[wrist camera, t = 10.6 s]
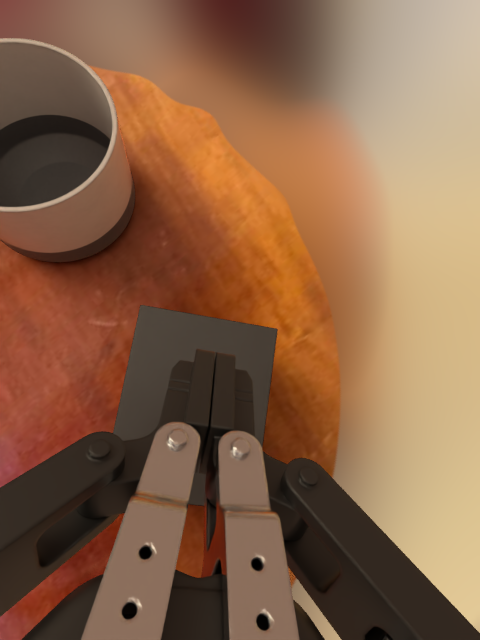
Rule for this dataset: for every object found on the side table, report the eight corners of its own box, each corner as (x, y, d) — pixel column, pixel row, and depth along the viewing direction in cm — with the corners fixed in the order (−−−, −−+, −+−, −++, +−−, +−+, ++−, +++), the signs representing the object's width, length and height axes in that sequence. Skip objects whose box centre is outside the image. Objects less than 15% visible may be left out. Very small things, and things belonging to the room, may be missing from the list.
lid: (141, 306, 26) (140, 304, 25) (275, 330, 27) (277, 328, 26) (102, 491, 23) (100, 493, 22) (252, 509, 24) (254, 512, 23)
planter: (152, 248, 35) (139, 188, 24) (6, 283, 32) (-76, 232, 22) (117, 129, 36) (91, 27, 26) (-23, 153, 34) (-113, 51, 24)
